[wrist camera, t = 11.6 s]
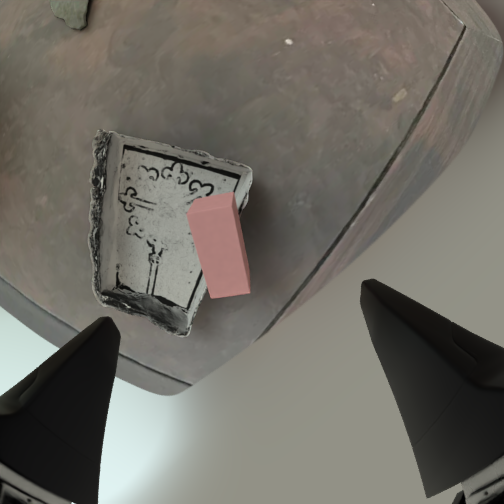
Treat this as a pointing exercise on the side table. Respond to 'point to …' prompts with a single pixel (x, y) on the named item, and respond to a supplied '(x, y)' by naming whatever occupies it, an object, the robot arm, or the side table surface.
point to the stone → (71, 12)
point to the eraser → (220, 244)
